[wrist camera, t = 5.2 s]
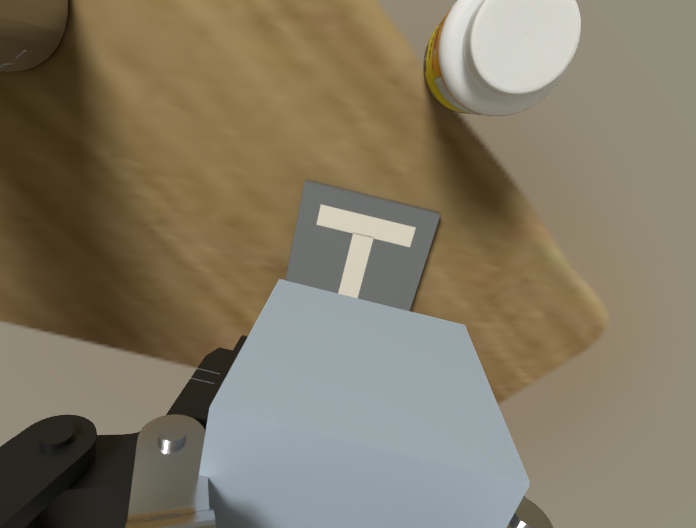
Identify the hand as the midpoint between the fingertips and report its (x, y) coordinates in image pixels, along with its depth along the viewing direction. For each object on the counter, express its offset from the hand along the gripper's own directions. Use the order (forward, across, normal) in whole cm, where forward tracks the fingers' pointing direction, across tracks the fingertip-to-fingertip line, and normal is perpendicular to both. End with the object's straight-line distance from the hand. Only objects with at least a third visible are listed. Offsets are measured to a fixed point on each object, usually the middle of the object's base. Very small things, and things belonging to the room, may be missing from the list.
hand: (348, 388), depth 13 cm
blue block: (0, 0, 0) cm, 0 cm away
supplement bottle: (+18, -4, -11) cm, 21 cm away
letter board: (+17, 0, +2) cm, 17 cm away
